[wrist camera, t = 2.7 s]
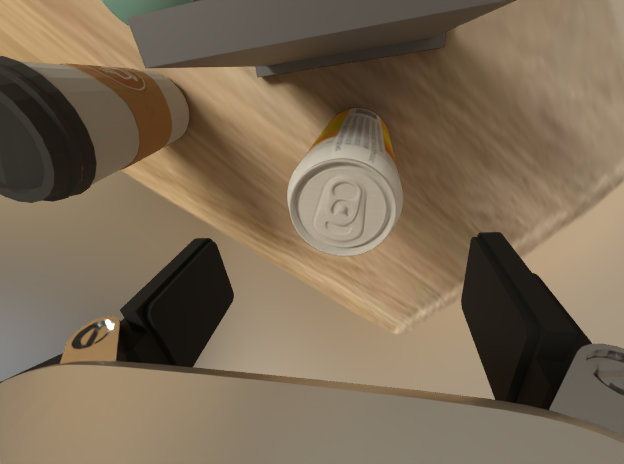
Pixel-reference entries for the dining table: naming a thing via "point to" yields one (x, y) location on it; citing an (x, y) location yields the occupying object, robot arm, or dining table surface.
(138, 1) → the coaster
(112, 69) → the coffee cup
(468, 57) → the dining table surface
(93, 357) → the robot arm
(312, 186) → the beer can
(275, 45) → the screen
